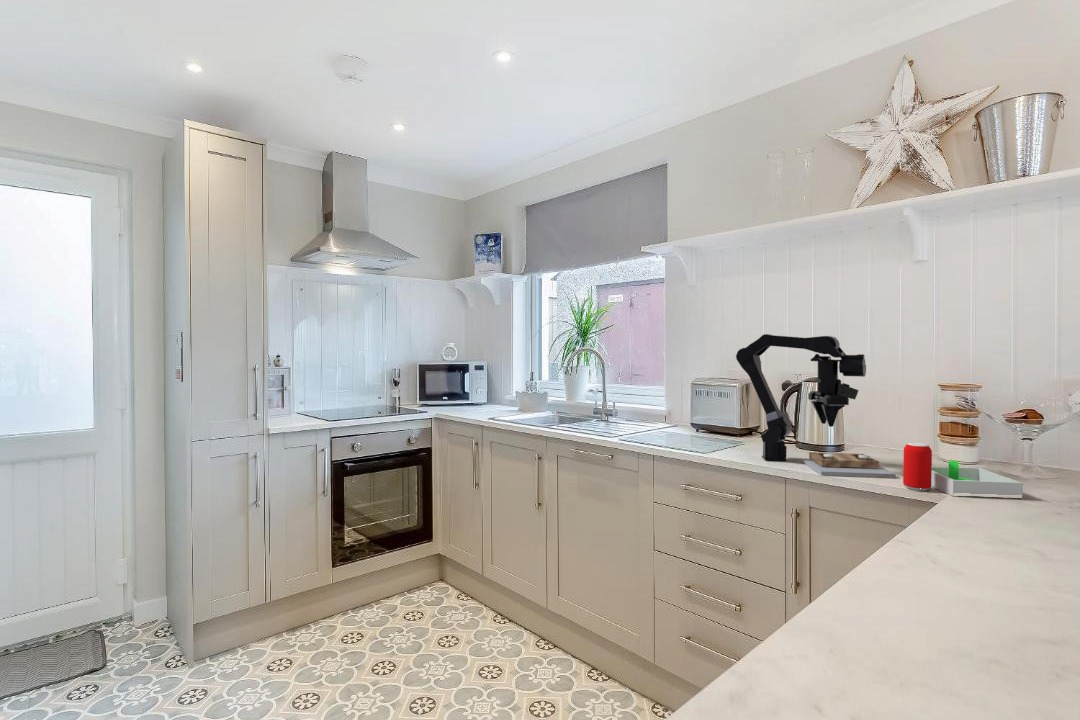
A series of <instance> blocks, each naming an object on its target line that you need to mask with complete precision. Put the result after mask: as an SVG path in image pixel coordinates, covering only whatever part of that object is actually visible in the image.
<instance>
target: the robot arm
mask: <svg viewBox="0 0 1080 720" xmlns="http://www.w3.org/2000/svg"><path fill="white" fill-rule="evenodd" d="M771 347H779V348H780V347H781V348H791V349H792V348H793V349H801V350H807V351H811V352H813V353H816V354H815V355H814V356H813V357H812V358H810V361H811V362H817V378H815V382H816V383H817V387H816V388H817V390H811V391H809V393H808V396H807V399H808V401H810V402H811V404H812V406H813V408H814V410H815V411H816V414H817V416H818V418H819V421H820V423H821V424H823V425H824V424H828V427H832V428H833V427H834V425H835V421H836V419H837V417H838V413H839V411H840V410H841V409H842V408H844V407H846V406H849V405H850V400H856V398H857V395H858V393H859V389H856V388H853V387H851V386H850V384H847V383H845V382H842V380H841V379H839V373H840V374H842V375H843V376H844V377H861V378H862V377H864V378H865V377H866V374H867V364H866V359H865V354H846V353H845V351H844V350H843V349H842V348H841V346H840V341H839V340H838V339H837V337H835V336H832V335H822V336H821V335H819V336H811V337H798V336H787V335H786V336H785V335H773V334H770V333H767V334H766V333H765V334H762V335H761V336H760V337H758V338H757V339H756V340H755V341H753V342H752V343H750V344H749V345H747V346H746V347H742V348H740V349H738V351H737V352H736V355H735V358H736V361H737V362H738V364H739V365H740V367H741V368H742V370H743V371H744V372H745V373H746V374H747V375H748V376H749V378H750V379H749V380H750V381H751V383H752V386H753V388H754V390H755V392H756V394H757V397H758V399H759V401H760V404H761V406H762V408H763V410H764V412H765V418H766V425H767V430H766V431H765V432H764V433H762V434H761V436H760V437H761V440H762V455H761V458H762V459H763V460H765V461H767V462H768V461H771V462H772V461H773V462H787V449H788V448H787V446H786V441H785V440H786V438H787V436H789V435H790V434H791V432H792V430H793V427H792V424H794V423H793V422H792V421H791V419H790V416H789V413H788V412H782V411H781V410H780V408H779V406H778V404H777V402H776V399H775V398H774V395H773V393H772V391H771V389H770V388H771V387H769V384H768V381H767V379H766V377H765V375H764V373H763V371H762V361H761V356H762V355H763V354H764V353H765V352H766V351H767V350H768V349H769V348H771ZM820 354H821V355H820ZM825 355H826V356H825ZM828 355H829V356H828ZM832 358H840V359H832Z"/></svg>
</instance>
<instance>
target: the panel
mask: <svg viewBox="0 0 1080 720" xmlns="http://www.w3.org/2000/svg"><path fill="white" fill-rule="evenodd" d="M808 453H809V454H808V455H809V456H808V459H811V460H813V461H814V462H816V463H817V464H819V465H820V466H827V467H858V468H879V466H880V461H878V460H876V459H875V458H873V457H871V456H870V459H867V461H866V460H862V458H859V455H865V453H848V452H847V453H845V452H841V453H840V452H813V451H809V452H808ZM824 454H832V455H835V457H834V458H832V459H826V457H824Z"/></svg>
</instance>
